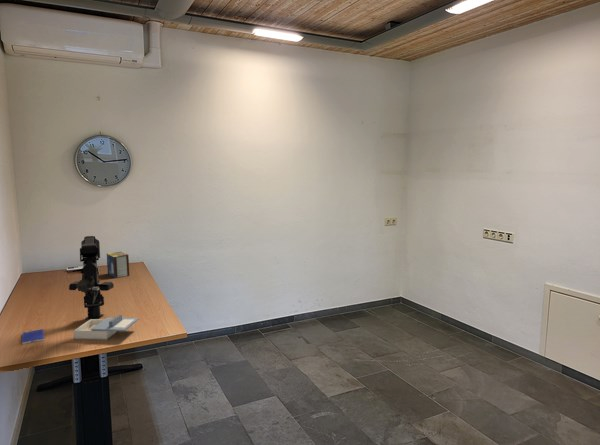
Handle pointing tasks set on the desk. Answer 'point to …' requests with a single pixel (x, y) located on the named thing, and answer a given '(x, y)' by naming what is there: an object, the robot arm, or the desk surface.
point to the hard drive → (32, 336)
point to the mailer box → (86, 332)
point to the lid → (115, 324)
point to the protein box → (118, 264)
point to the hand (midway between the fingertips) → (92, 303)
